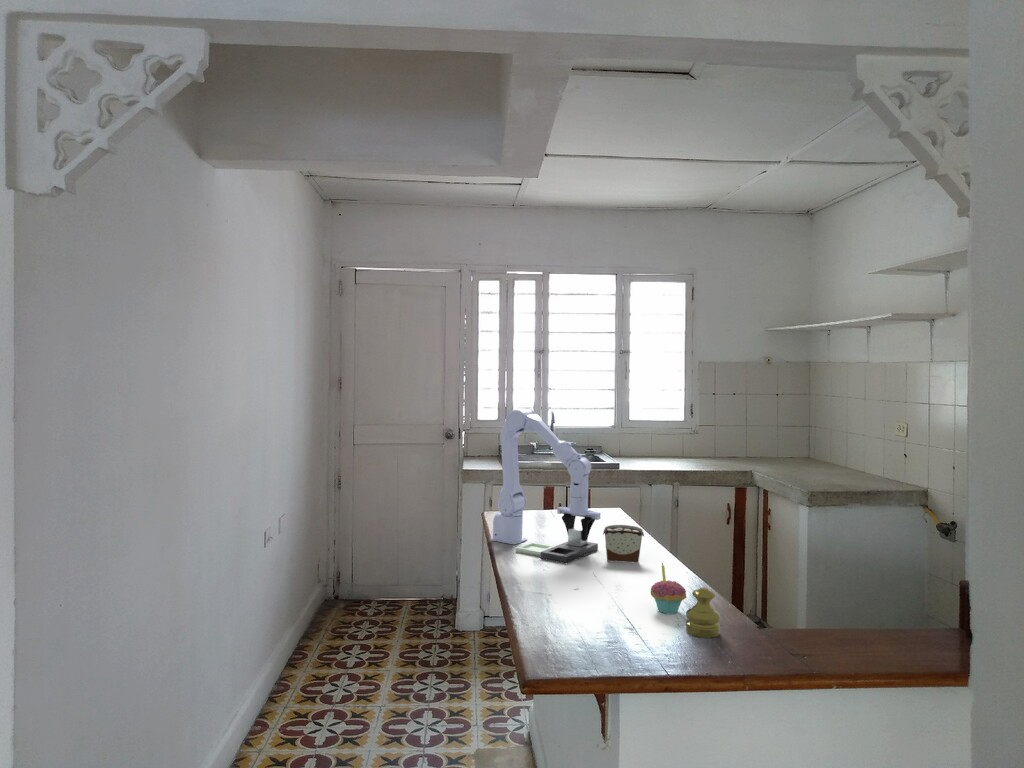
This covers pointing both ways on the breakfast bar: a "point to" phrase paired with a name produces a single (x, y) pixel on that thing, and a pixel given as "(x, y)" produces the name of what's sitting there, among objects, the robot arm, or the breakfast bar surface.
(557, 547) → the dark grey rectangular frame
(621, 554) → the food container
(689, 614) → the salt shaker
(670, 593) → the cupcake
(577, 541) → the grey rectangular block
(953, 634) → the breakfast bar surface
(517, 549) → the parts tray
